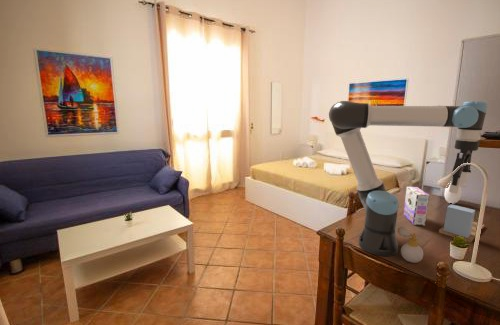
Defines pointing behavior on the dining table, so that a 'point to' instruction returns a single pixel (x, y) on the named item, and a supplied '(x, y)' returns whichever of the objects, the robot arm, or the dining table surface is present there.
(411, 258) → the perfume bottle
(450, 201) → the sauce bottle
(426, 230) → the dining table surface
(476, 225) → the striped wooden board
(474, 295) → the dining table surface
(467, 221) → the slate block
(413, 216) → the candy box
